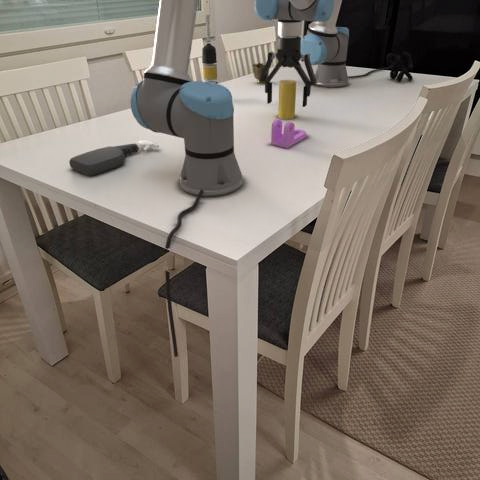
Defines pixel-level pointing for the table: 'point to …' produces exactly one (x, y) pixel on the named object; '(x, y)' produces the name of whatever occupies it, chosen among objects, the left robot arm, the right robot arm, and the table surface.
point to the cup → (259, 72)
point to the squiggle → (399, 66)
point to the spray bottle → (106, 157)
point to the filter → (209, 57)
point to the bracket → (285, 134)
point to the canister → (287, 99)
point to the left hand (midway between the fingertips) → (286, 104)
